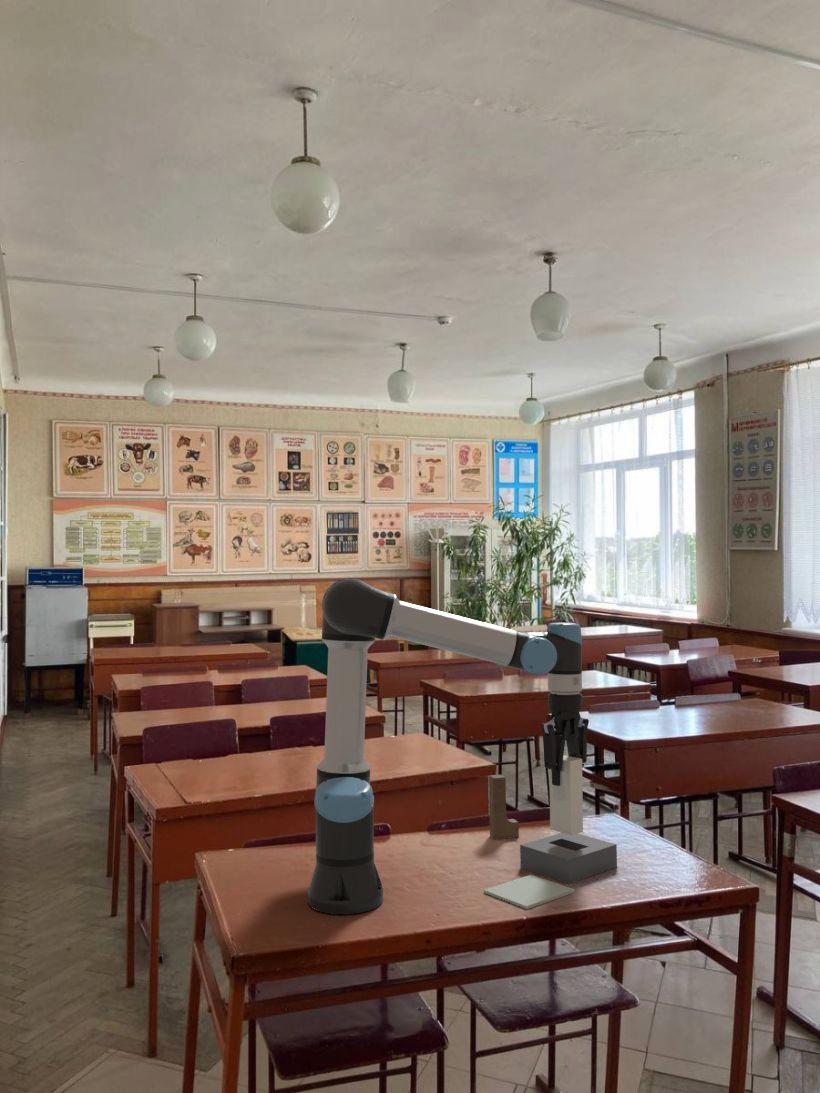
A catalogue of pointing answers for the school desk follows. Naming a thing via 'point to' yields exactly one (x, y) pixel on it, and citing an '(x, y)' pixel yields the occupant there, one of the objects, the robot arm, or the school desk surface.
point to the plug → (568, 799)
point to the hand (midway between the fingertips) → (566, 797)
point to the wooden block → (500, 810)
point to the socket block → (568, 856)
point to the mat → (529, 891)
